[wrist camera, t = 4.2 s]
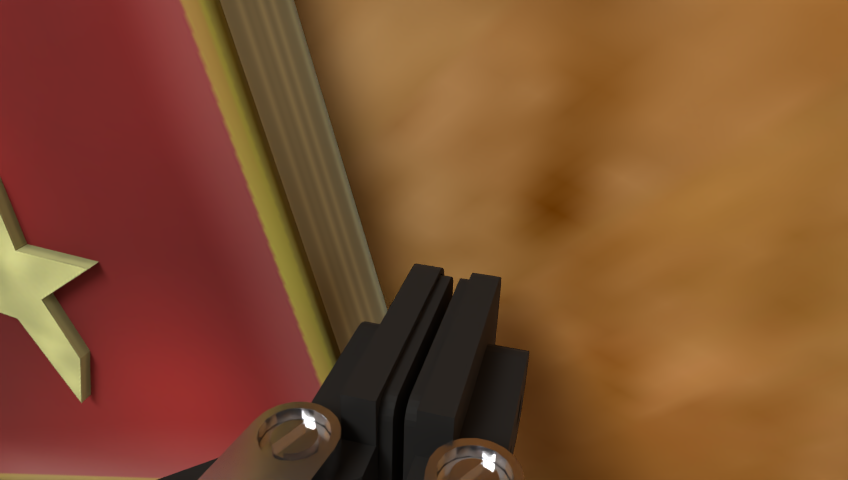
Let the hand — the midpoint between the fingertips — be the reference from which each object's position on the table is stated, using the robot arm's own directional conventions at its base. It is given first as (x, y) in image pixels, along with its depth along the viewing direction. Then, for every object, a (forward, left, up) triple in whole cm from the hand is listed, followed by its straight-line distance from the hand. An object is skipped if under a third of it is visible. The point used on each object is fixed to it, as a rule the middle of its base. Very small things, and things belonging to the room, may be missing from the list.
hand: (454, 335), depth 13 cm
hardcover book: (+13, 0, -3) cm, 13 cm away
